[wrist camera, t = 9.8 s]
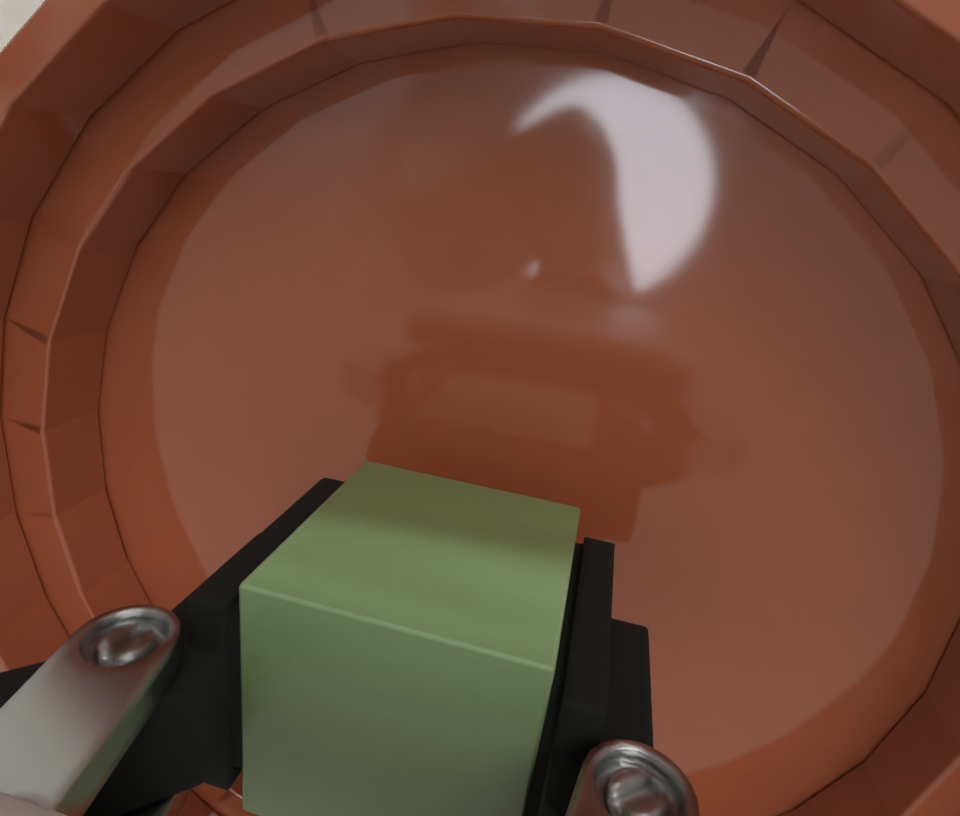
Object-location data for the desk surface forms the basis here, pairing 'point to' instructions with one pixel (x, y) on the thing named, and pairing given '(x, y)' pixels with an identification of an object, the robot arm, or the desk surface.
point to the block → (403, 650)
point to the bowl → (515, 332)
